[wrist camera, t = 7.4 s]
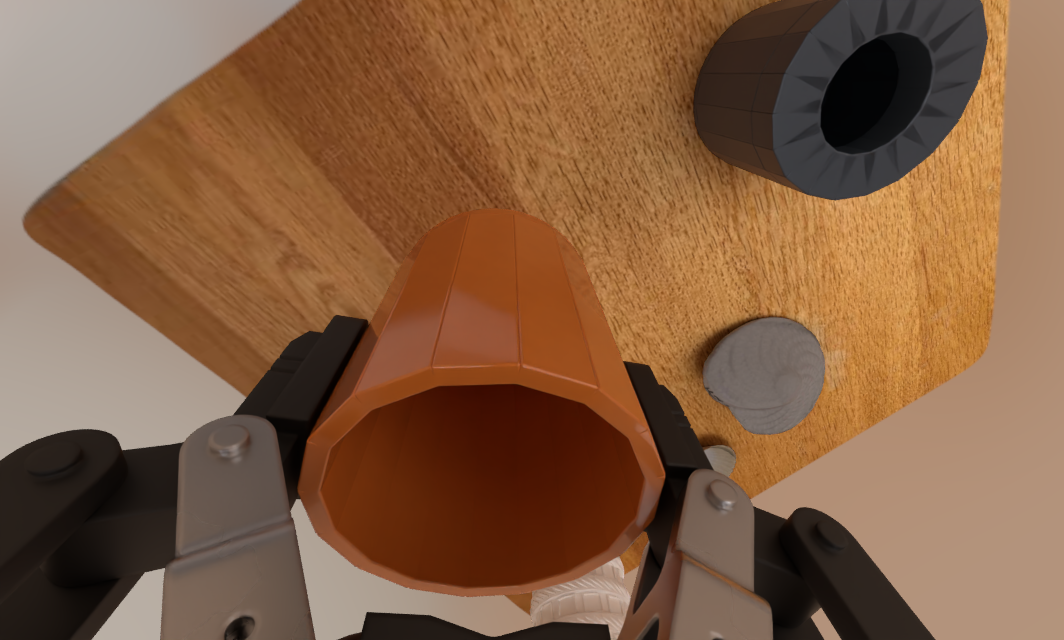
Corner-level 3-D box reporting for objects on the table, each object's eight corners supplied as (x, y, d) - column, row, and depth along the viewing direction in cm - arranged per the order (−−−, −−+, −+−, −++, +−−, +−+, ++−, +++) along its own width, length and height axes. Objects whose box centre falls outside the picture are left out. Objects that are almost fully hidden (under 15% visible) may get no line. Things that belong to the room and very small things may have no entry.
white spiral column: (597, 468, 47) (642, 661, 31) (625, 524, 53) (675, 711, 37) (504, 497, 49) (503, 694, 33) (541, 548, 54) (554, 737, 39)
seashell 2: (742, 419, 44) (842, 375, 40) (759, 460, 39) (874, 415, 35) (680, 344, 41) (781, 287, 37) (690, 378, 36) (807, 318, 32)
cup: (380, 346, 15) (279, 570, 8) (429, 174, 12) (334, 307, 5) (544, 393, 17) (569, 613, 10) (623, 251, 14) (736, 429, 7)
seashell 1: (702, 471, 51) (745, 439, 46) (712, 496, 49) (759, 466, 43) (645, 470, 48) (684, 436, 43) (653, 497, 46) (696, 465, 41)
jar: (666, 134, 29) (732, 159, 21) (750, -29, 25) (878, -84, 16) (774, 184, 32) (873, 226, 23) (868, 42, 27) (1035, 27, 19)
